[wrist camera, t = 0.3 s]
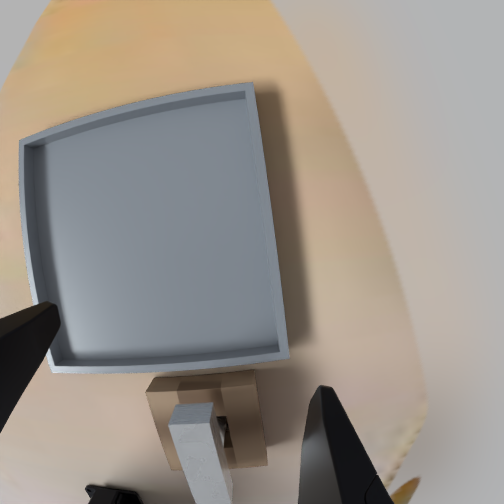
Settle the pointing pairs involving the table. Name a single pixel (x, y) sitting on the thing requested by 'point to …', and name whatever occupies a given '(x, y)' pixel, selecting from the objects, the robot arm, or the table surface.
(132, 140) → the tray
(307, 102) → the table surface
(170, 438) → the socket block
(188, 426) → the gray rectangular block
